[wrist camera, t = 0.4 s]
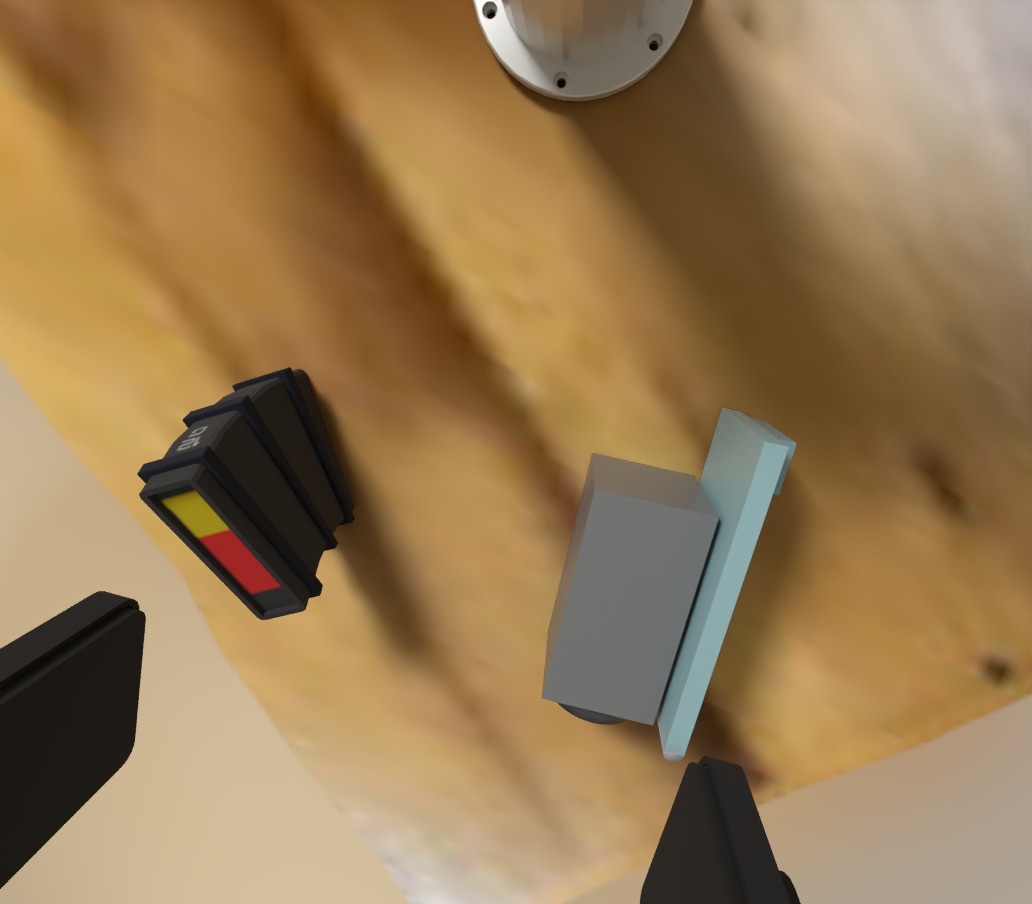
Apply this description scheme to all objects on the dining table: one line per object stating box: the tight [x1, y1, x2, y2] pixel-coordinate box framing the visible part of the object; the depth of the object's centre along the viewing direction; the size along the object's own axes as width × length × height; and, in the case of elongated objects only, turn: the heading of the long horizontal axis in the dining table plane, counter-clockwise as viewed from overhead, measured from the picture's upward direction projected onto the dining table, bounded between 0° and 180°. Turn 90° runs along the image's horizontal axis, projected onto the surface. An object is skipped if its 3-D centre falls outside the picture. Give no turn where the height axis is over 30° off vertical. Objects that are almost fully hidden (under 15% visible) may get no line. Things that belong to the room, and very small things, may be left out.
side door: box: [657, 407, 797, 762], centre depth 37 cm, size 20×2×10 cm, turn 168°
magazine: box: [138, 367, 355, 620], centre depth 38 cm, size 4×13×15 cm, turn 16°
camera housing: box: [542, 453, 719, 726], centre depth 40 cm, size 15×7×8 cm, turn 168°
